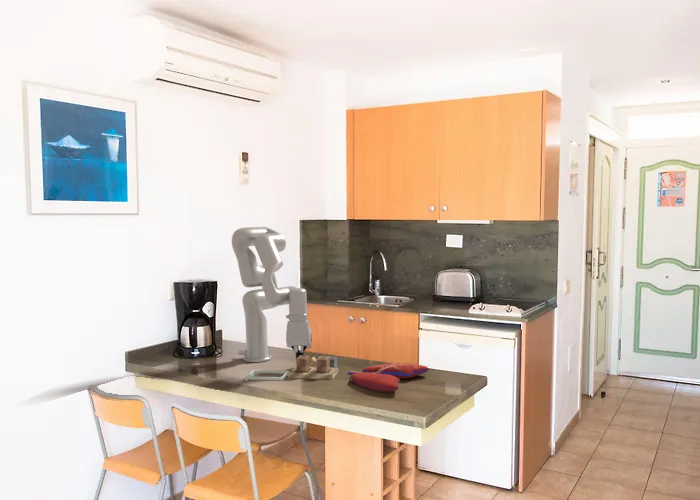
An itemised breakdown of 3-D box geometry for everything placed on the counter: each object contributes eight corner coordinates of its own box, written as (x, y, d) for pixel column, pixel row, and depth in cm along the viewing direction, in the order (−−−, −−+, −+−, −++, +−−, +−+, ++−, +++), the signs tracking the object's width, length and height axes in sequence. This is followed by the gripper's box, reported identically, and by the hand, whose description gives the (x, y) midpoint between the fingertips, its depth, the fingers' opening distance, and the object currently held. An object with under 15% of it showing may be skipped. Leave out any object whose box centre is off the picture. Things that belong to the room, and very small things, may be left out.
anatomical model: (431, 381, 242) (365, 375, 258) (430, 363, 242) (365, 358, 258) (396, 395, 216) (326, 388, 232) (396, 375, 216) (326, 369, 232)
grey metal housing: (320, 372, 251) (320, 359, 250) (323, 369, 256) (322, 356, 255) (334, 372, 250) (334, 359, 249) (337, 369, 255) (336, 356, 254)
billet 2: (317, 376, 240) (316, 359, 240) (320, 372, 246) (319, 355, 246) (326, 377, 239) (326, 359, 239) (330, 373, 245) (329, 355, 245)
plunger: (311, 366, 252) (311, 359, 252) (313, 363, 256) (313, 356, 255) (322, 366, 251) (322, 359, 251) (324, 364, 255) (324, 357, 255)
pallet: (288, 380, 240) (288, 373, 240) (295, 373, 251) (295, 366, 251) (332, 382, 237) (332, 375, 236) (338, 374, 247) (338, 367, 247)
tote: (245, 382, 240) (244, 376, 239) (254, 375, 250) (253, 369, 249) (282, 383, 237) (282, 377, 237) (289, 376, 247) (289, 370, 247)
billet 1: (296, 376, 242) (296, 358, 241) (300, 372, 248) (300, 355, 247) (306, 376, 241) (305, 359, 241) (310, 372, 247) (309, 355, 246)
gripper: (278, 319, 251) (280, 363, 252) (313, 319, 248) (315, 363, 250) (283, 316, 259) (285, 358, 260) (317, 316, 256) (319, 359, 257)
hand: (300, 361), depth 255 cm, fingers closed
